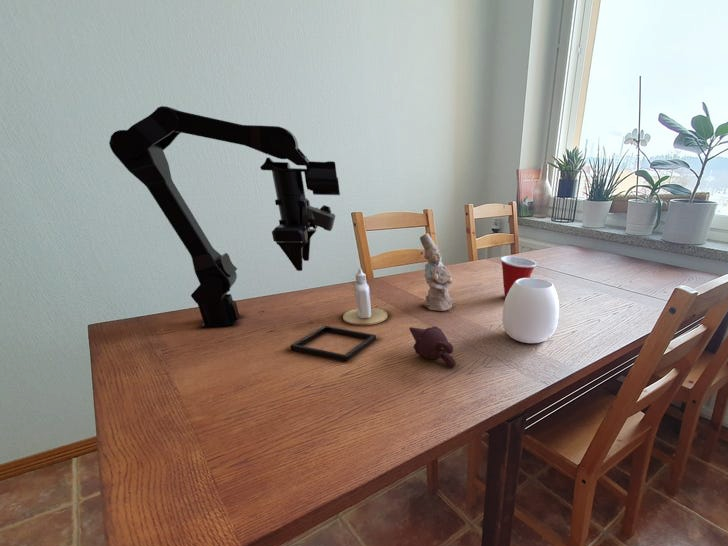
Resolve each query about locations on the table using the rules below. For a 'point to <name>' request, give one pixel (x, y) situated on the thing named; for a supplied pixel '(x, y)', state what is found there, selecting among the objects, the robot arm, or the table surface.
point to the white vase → (531, 310)
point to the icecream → (433, 344)
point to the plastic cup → (515, 270)
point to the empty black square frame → (300, 348)
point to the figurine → (436, 277)
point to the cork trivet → (375, 318)
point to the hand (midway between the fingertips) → (303, 265)
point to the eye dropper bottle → (362, 296)
